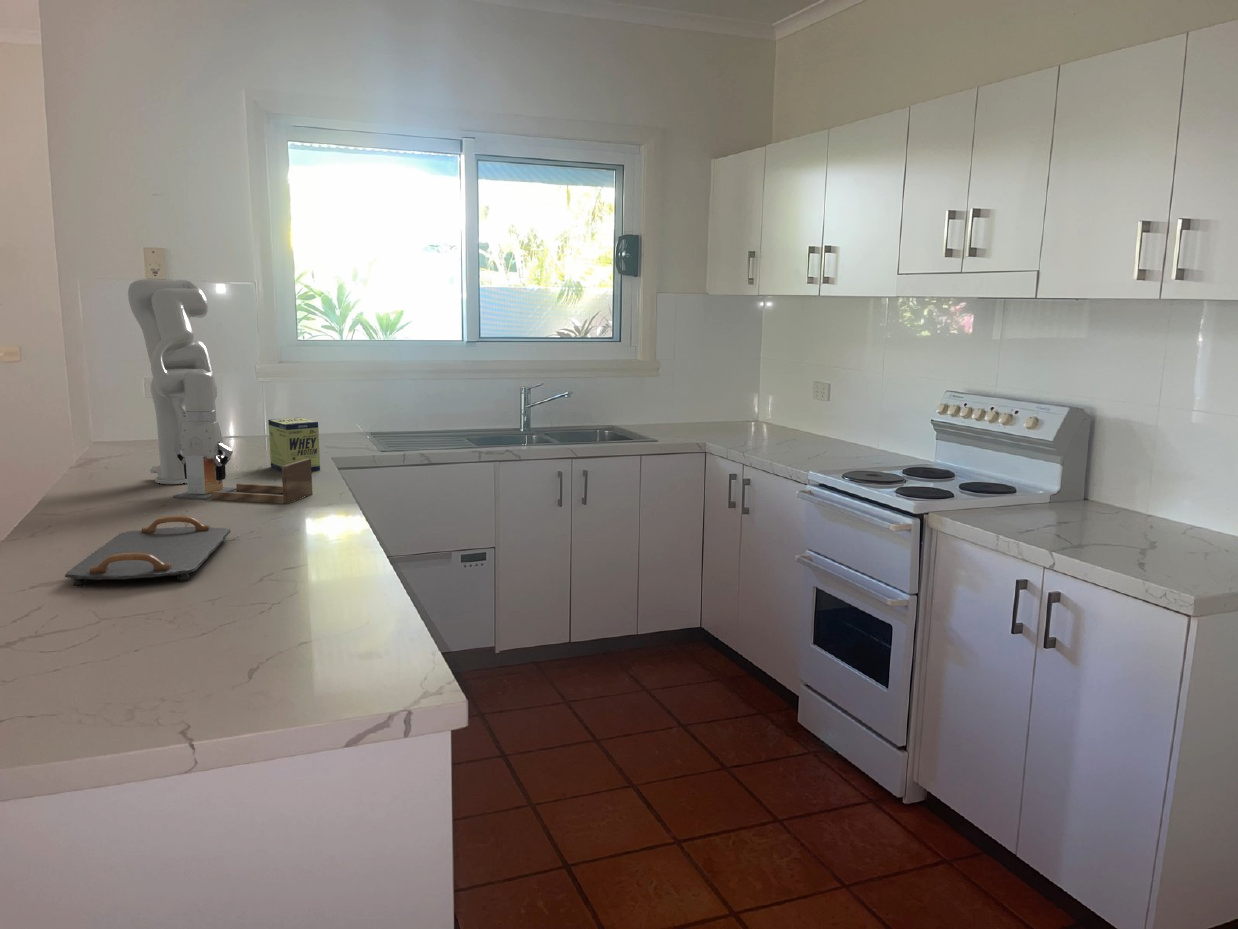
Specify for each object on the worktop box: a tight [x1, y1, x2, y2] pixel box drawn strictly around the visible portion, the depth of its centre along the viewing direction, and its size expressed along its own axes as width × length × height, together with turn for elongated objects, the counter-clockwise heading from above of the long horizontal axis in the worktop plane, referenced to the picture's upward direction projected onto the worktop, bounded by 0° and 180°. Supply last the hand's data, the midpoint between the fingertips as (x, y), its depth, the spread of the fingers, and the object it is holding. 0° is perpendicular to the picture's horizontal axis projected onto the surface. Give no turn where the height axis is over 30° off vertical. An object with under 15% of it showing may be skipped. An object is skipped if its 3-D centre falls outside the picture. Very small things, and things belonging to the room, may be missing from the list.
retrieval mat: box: [172, 486, 237, 501], centre depth 252 cm, size 10×14×1 cm
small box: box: [185, 456, 224, 494], centre depth 251 cm, size 8×6×10 cm
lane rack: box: [210, 459, 313, 504], centre depth 248 cm, size 23×12×10 cm, turn 78°
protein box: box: [268, 417, 321, 472], centre depth 290 cm, size 10×16×16 cm
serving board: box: [64, 515, 231, 588], centre depth 186 cm, size 39×23×6 cm, turn 11°
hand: (205, 478), depth 251 cm, fingers open, 9 cm apart
